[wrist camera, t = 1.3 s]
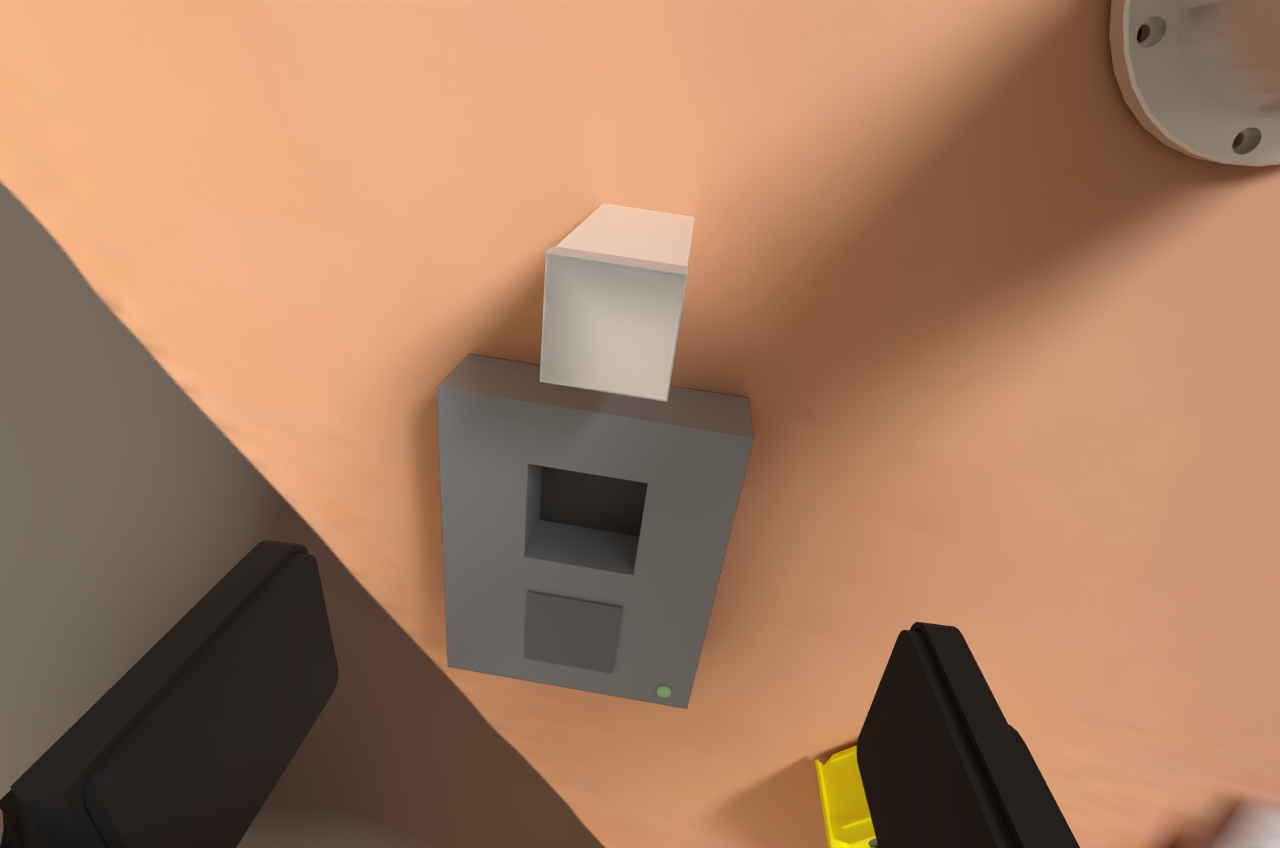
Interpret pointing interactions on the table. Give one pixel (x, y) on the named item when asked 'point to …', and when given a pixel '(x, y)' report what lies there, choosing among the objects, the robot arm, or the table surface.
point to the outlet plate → (584, 528)
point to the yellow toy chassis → (845, 802)
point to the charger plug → (616, 302)
